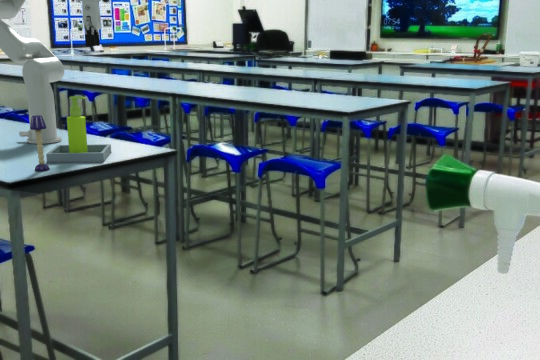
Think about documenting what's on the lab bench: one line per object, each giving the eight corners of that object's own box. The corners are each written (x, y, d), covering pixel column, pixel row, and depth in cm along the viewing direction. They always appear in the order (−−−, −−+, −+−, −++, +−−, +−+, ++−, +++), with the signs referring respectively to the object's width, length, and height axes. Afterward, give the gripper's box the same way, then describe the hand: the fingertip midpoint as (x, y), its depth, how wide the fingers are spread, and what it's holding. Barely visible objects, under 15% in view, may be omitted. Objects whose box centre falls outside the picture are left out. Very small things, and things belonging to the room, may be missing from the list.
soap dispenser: (85, 158, 199) (81, 97, 194) (66, 157, 200) (61, 96, 196) (93, 154, 205) (89, 95, 200) (75, 153, 206) (70, 95, 201)
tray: (46, 162, 194) (46, 153, 193) (58, 153, 210) (57, 145, 209) (103, 162, 196) (103, 153, 195) (111, 152, 211) (110, 144, 211)
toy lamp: (30, 170, 183) (25, 116, 179) (41, 167, 188) (36, 114, 184) (43, 171, 182) (38, 116, 178) (53, 168, 186) (49, 115, 182)
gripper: (96, -5, 207) (99, 46, 211) (104, -2, 223) (107, 45, 227) (73, -5, 206) (77, 46, 210) (83, -2, 223) (86, 45, 227)
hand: (92, 46), depth 219 cm, fingers open, 9 cm apart
